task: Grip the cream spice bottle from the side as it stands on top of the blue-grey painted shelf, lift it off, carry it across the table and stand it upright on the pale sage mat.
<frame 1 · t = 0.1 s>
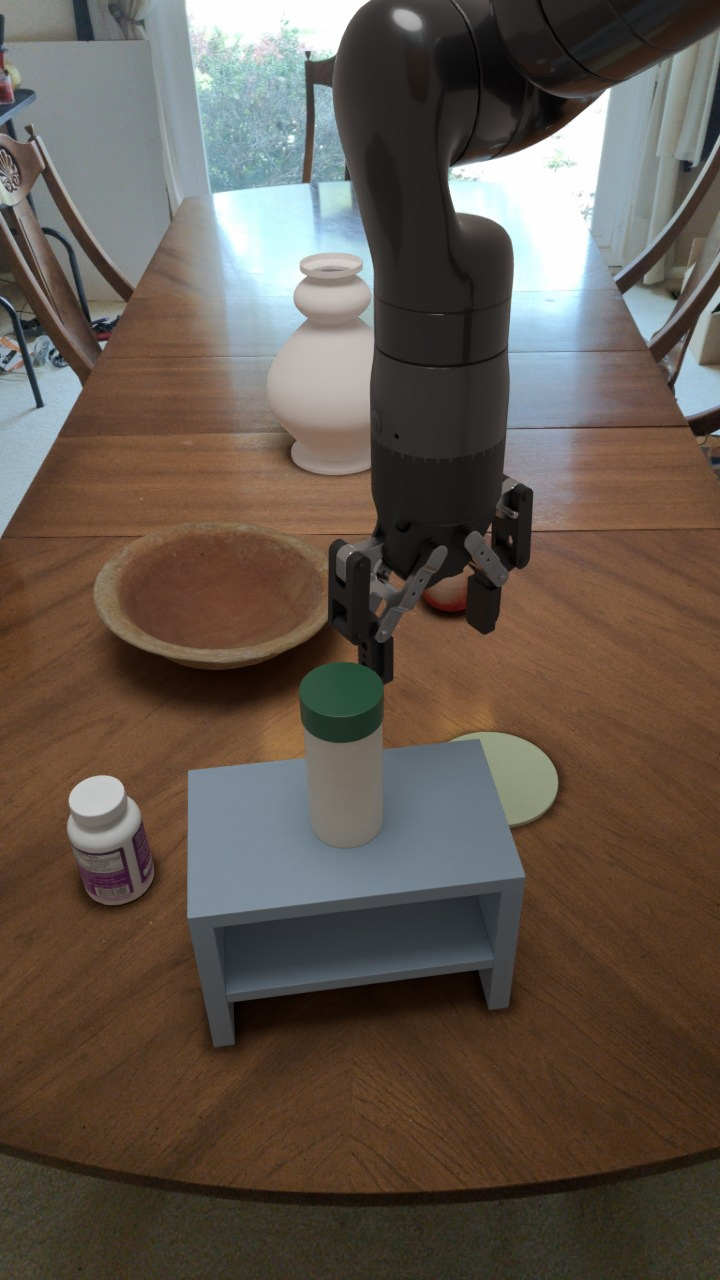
hand: (431, 651, 64), 21 cm above the table, tool pointing down, fingers open, 8 cm apart
mat: (492, 780, 84), on the table
shelf: (352, 951, 71), on the table
bowl: (226, 642, 100), on the table
pill bottle: (120, 881, 76), on the table
spice bottle: (346, 820, 62), point 14 cm above the table, touching shelf
fruit: (452, 603, 104), on the table
decorative vase: (338, 454, 132), on the table
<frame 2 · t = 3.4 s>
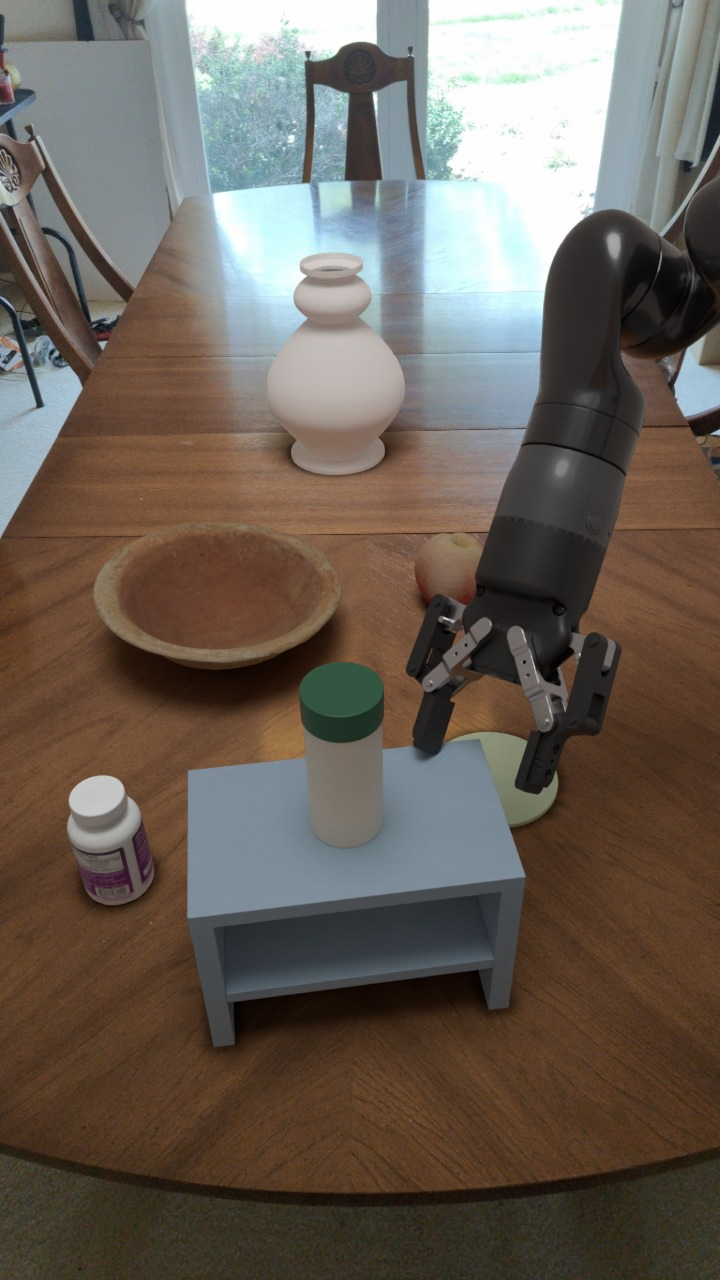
hand: (473, 770, 63), 16 cm above the table, tool tilted 40°, fingers open, 8 cm apart
nothing on the table moved.
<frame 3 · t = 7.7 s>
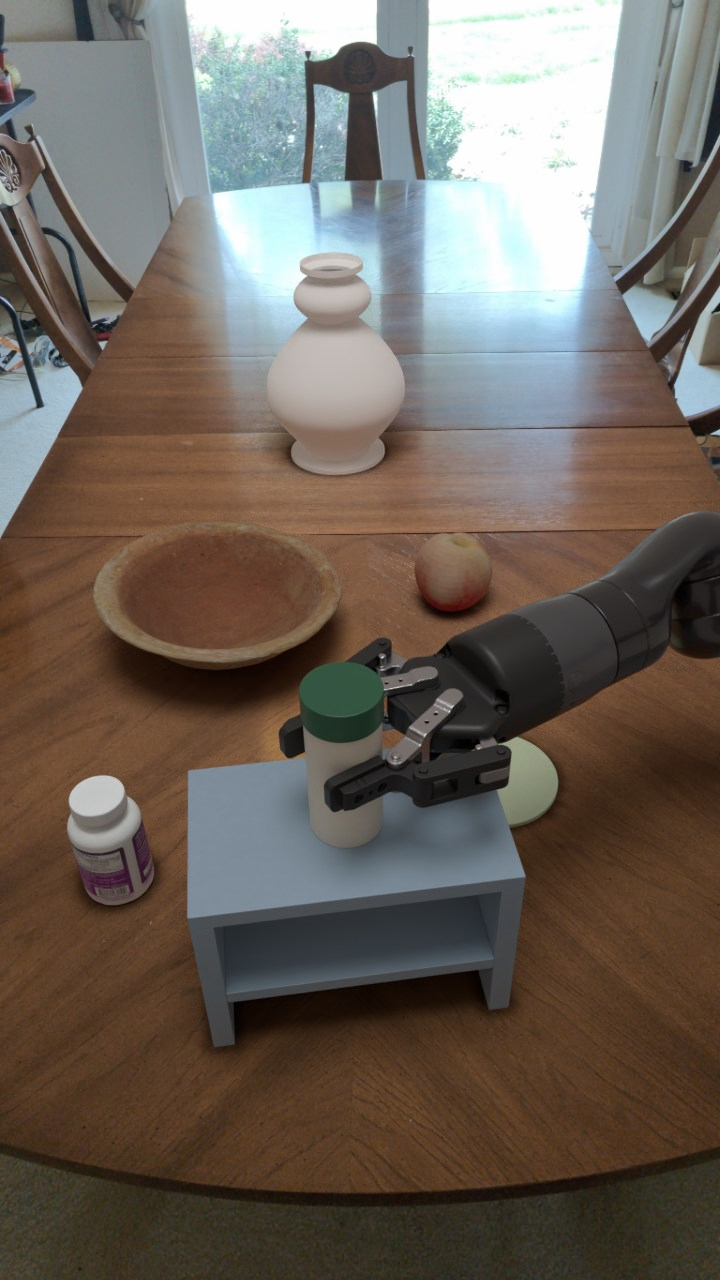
hand: (305, 769, 57), 20 cm above the table, tool horizontal, fingers closed on spice bottle, 4 cm apart
spice bottle: (346, 820, 62), point 14 cm above the table, touching gripper, shelf
everything else where it was.
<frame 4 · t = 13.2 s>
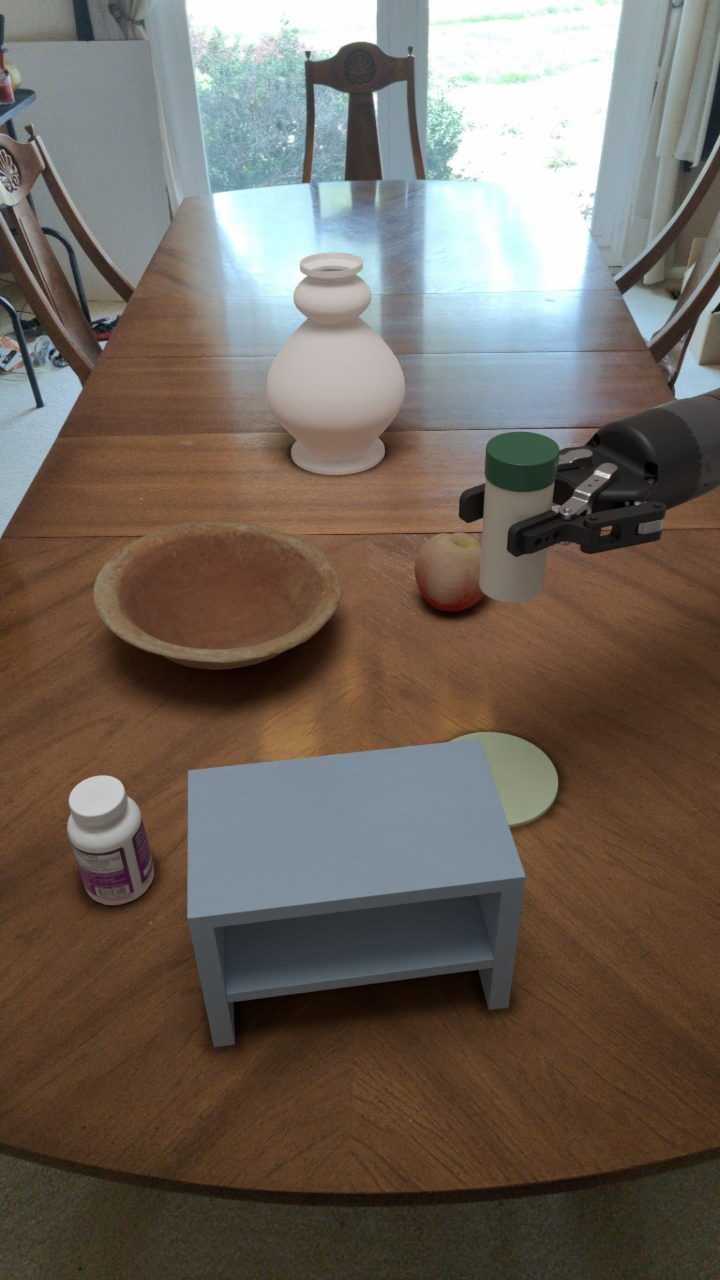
hand: (486, 524, 66), 26 cm above the table, tool horizontal, fingers closed on spice bottle, 4 cm apart
spice bottle: (510, 584, 71), point 20 cm above the table, touching gripper
everything else where it was.
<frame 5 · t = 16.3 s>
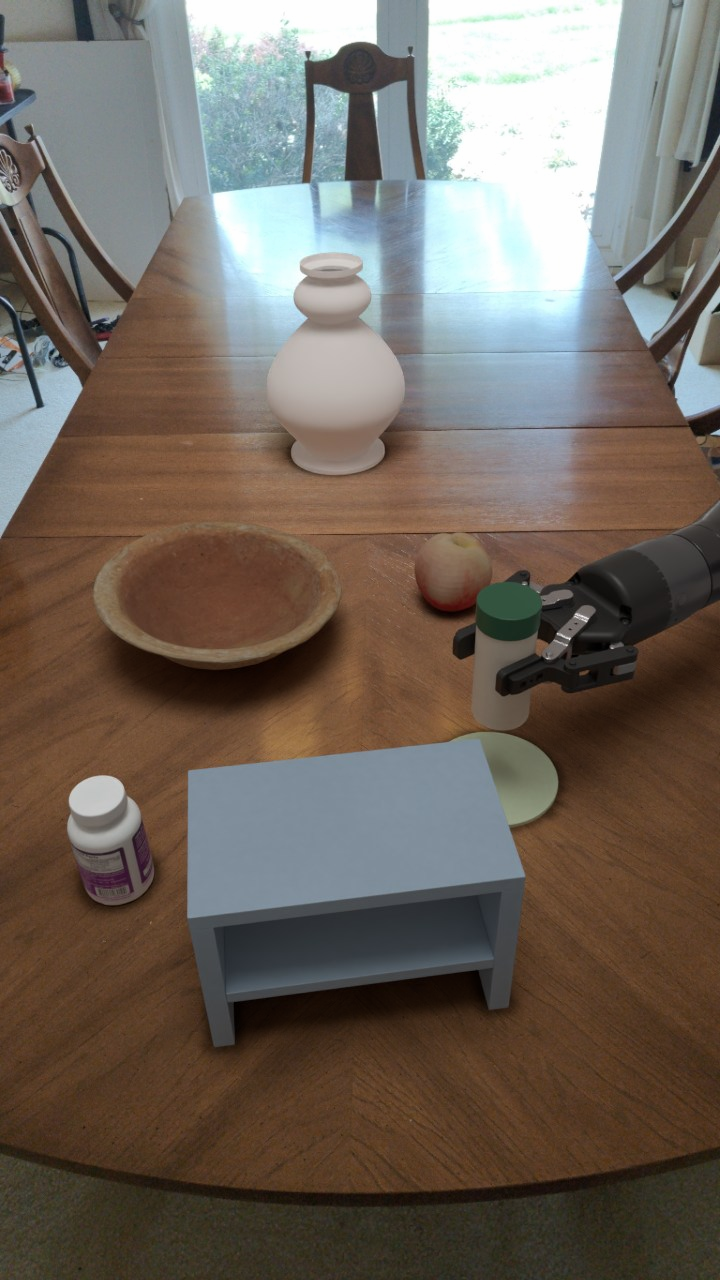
hand: (477, 665, 74), 14 cm above the table, tool horizontal, fingers closed on spice bottle, 4 cm apart
spice bottle: (499, 711, 79), point 8 cm above the table, touching gripper
everything else where it was.
when the fingers open (6 cm above the table, at t = 18.8 s): spice bottle stays where it is, resting on mat.
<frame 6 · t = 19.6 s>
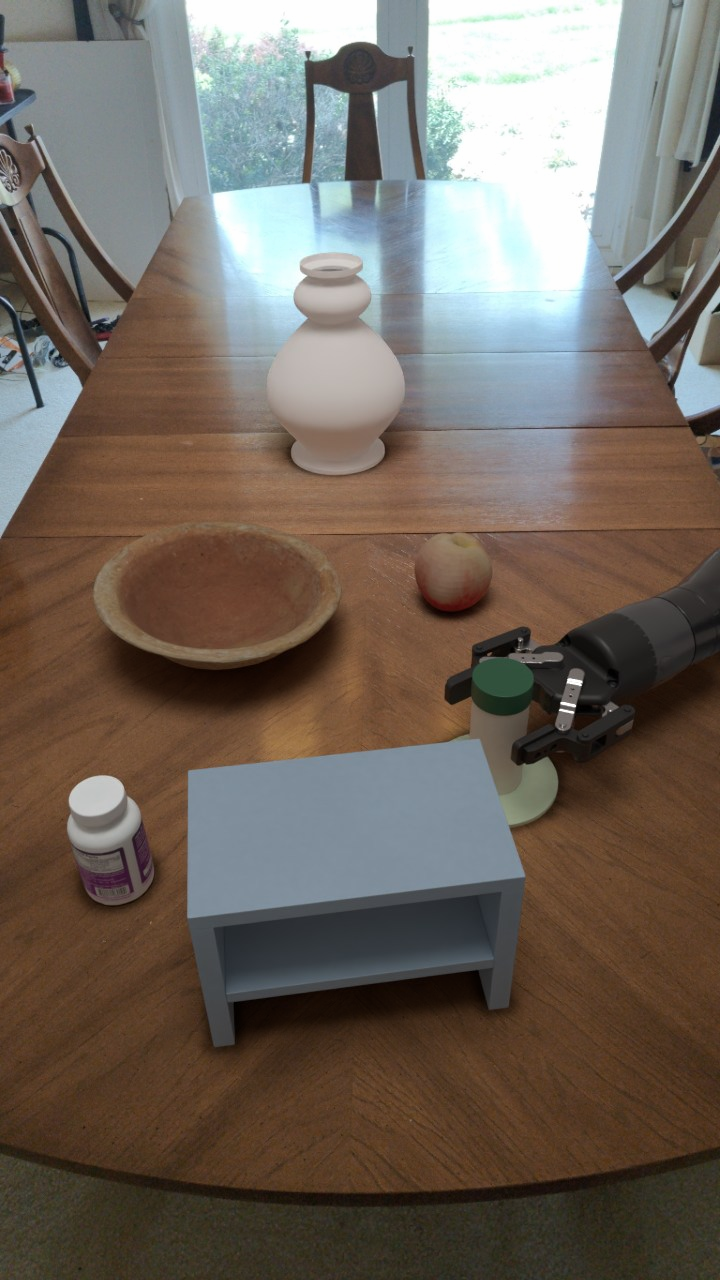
hand: (479, 723, 78), 8 cm above the table, tool horizontal, fingers open, 8 cm apart
spice bottle: (493, 775, 83), resting on mat
everything else where it was.
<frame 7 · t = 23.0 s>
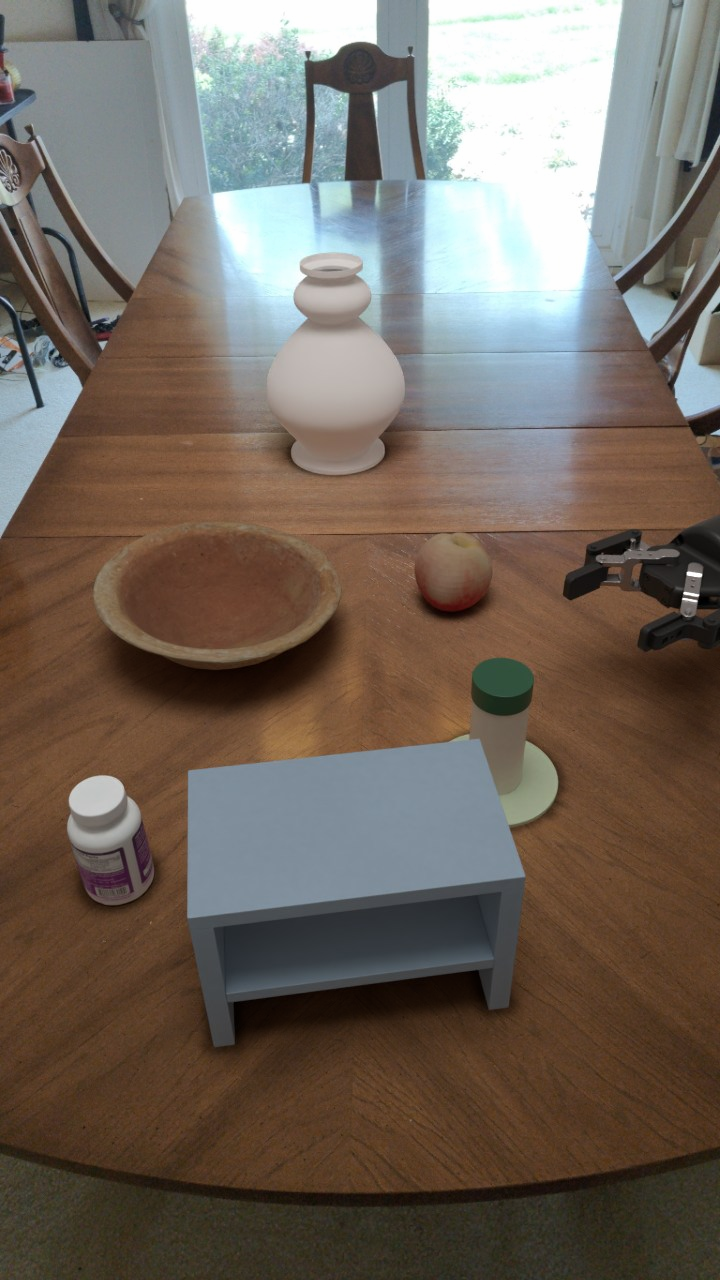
hand: (602, 613, 79), 14 cm above the table, tool horizontal, fingers open, 8 cm apart
nothing on the table moved.
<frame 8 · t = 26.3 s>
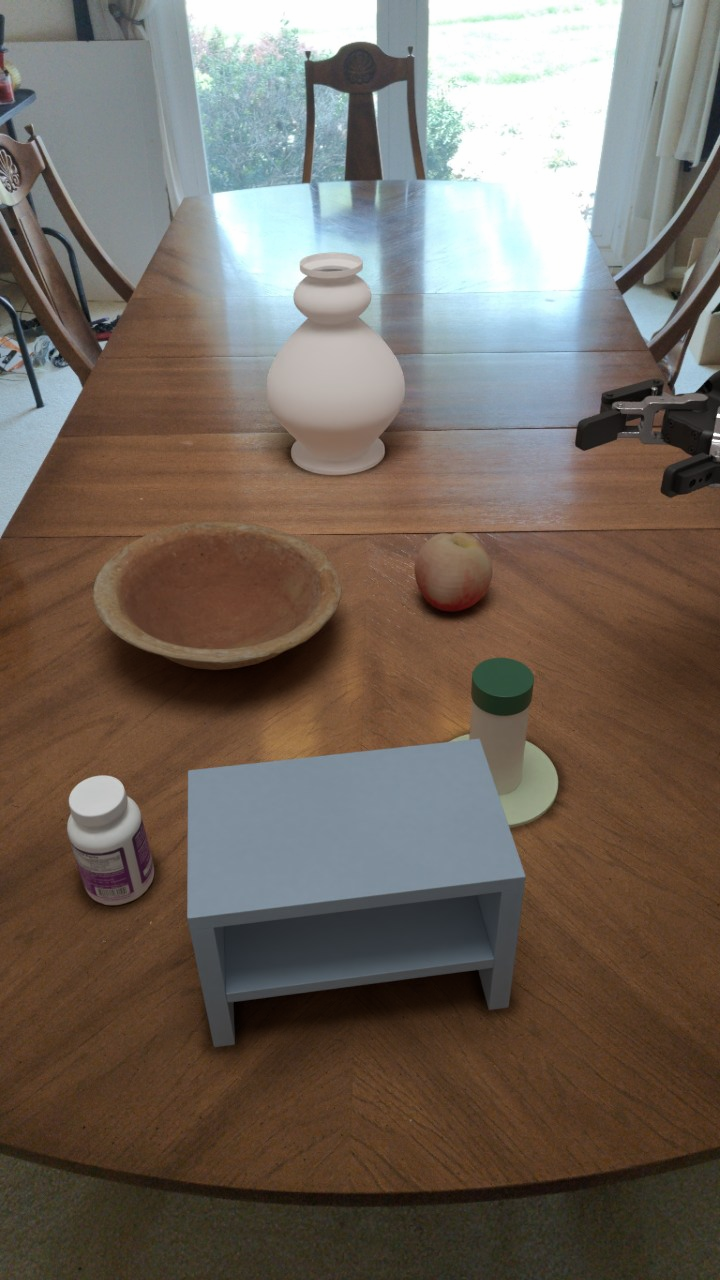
hand: (620, 459, 70), 28 cm above the table, tool horizontal, fingers open, 8 cm apart
nothing on the table moved.
at the end: spice bottle inside the target area on the mat (0.1 cm from its centre), point 0.5 cm above the mat's base; spice bottle tilted 0°; spice bottle touching mat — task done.
